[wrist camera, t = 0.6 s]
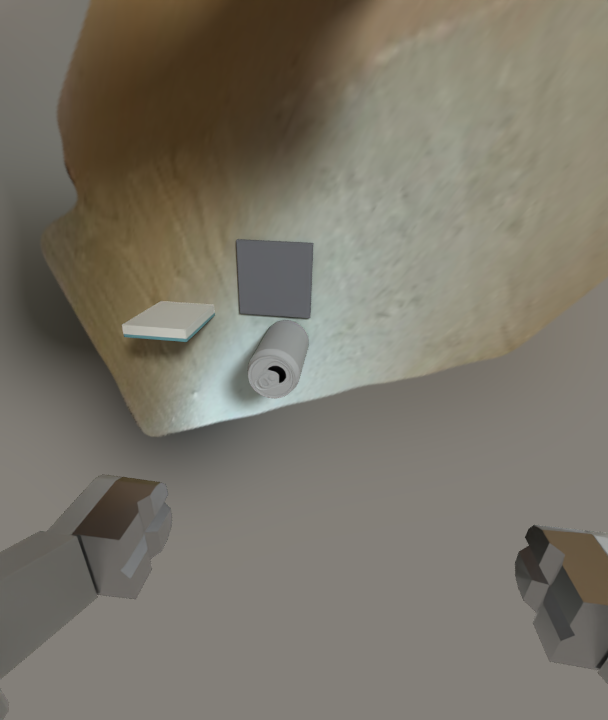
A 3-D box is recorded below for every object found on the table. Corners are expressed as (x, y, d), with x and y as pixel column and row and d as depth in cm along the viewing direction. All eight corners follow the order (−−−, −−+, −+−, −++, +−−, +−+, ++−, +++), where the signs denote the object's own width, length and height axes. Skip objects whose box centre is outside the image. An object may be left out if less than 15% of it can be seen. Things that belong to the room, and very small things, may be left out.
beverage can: (318, 344, 52) (309, 385, 42) (284, 366, 55) (267, 410, 44) (291, 309, 50) (275, 343, 40) (257, 333, 53) (233, 371, 42)
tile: (161, 301, 52) (121, 324, 43) (214, 304, 52) (185, 329, 43) (162, 311, 53) (124, 336, 44) (214, 315, 52) (186, 341, 43)
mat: (237, 239, 47) (236, 239, 47) (313, 242, 46) (312, 243, 46) (241, 311, 52) (240, 313, 51) (310, 316, 51) (309, 318, 50)
